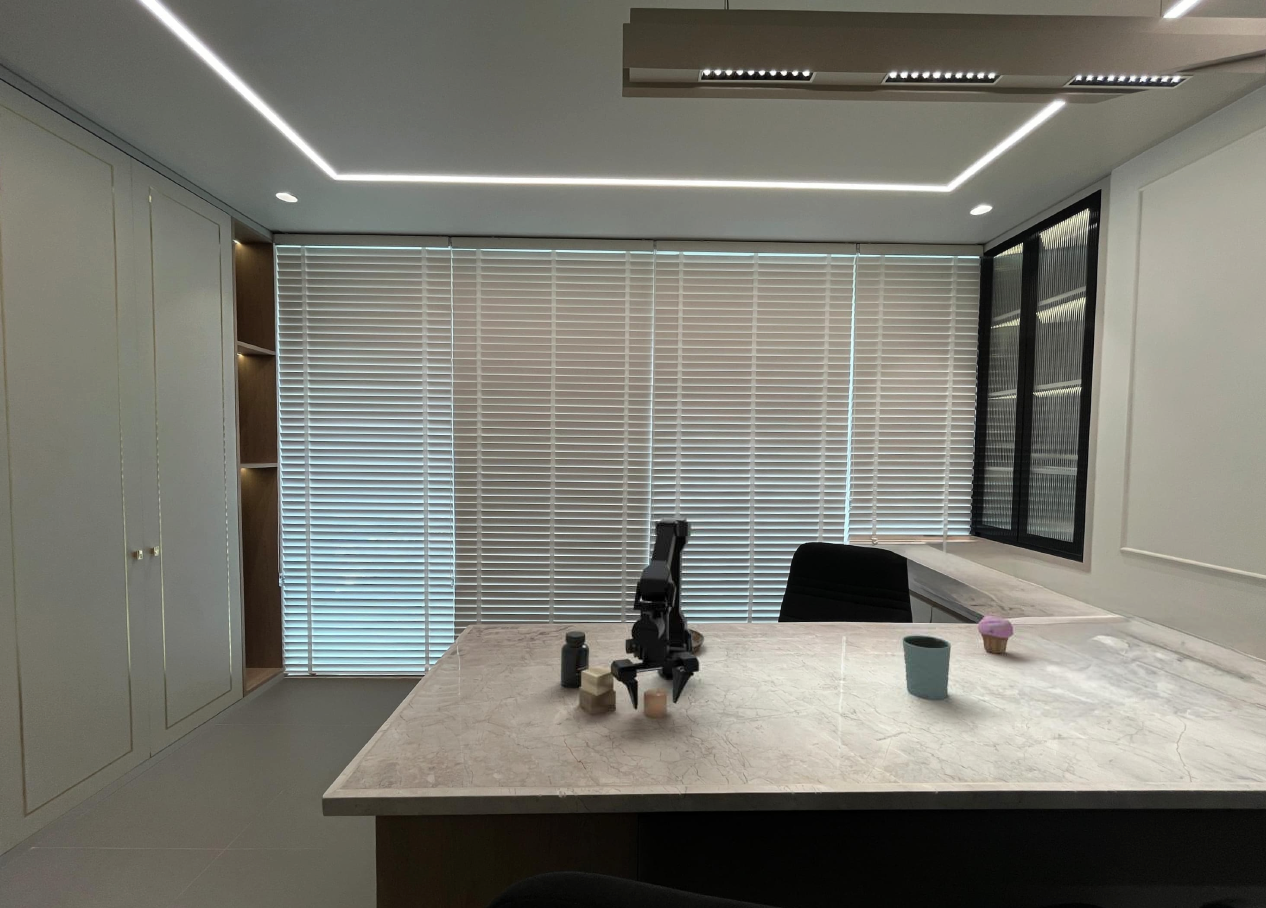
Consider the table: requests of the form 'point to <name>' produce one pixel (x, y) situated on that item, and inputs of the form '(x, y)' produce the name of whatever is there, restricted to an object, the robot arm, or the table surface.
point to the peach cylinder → (655, 703)
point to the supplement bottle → (574, 659)
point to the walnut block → (597, 701)
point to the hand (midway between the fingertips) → (655, 705)
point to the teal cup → (927, 666)
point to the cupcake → (995, 633)
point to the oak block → (597, 680)
